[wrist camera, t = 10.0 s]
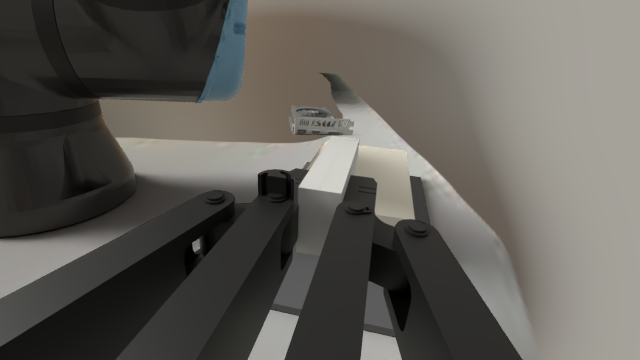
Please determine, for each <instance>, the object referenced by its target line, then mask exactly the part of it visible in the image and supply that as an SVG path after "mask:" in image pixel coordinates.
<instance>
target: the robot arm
mask: <svg viewBox="0 0 640 360" xmlns="http://www.w3.org/2000/svg"><path fill="white" fill-rule="evenodd" d="M247 2H248V0H0V237H3V236H16V235H25V234H32V233H38V232H43V231H48V230H53V229H57V228H61V227H65V226H68V225H72V224H75V223H78V222H81V221H84V220H87V219H90V218H92V217H95V216H97V215H100V214H102V213H104V212H106V211H108V210H110V209H112V208H114V207H116V206H117V205H119V204H121V203H122V202H123V201H125V200H126V199H127V198H128V197H129V196H130V195H131V194H132V193H133V192H134V190H135V188H136V179H135V174H134V169H133V166H132V164H131V162H130V161H129V159H128V157H127V156H126V154H125V153H124V151H123V150H122V148H121V147H120V145H119V143H118V142H117V140H116V139H115V137H114V136H113V134H112V133H111V131H110V130H109V128H108V127H107V125H106V123H105V121H104V119H103V116H102V113H101V108H100V104H99V100H98V99H120V100H147V101H148V100H150V101H175V102H195V103H202V102H203V101H226V100H229V99H231V98H233V97H235V96H236V95H237V94H238V92H239V91H240V88H241V84H242V77H243V67H244V53H245V30H246V18H247ZM359 140H360V139H355V138H346V137H338V136H331V138H330V139H329V141H328V142H327V144H326V145H325V147H324V148H323V150H322V151H321V153H320V155H319V156H318V158H317V159H316V161H315V162H314V164H313V165H312V167H311V168H310V170H304V169H297V168H296V169H294V170H292V171H285V170H277V169H273V170H266V171H263V172H261V173H259V174H258V196H257V197H256V199H255V200H254V201H253V202H252V203H236V204H235V197H234V196H233V194H231V193H229V192H226V191H222V190H218V191H217V190H214V191H211V192H206V193H203V194H201V195H199V196H197V197H195V198H193V199H191V200H189V201H187V202H185V203H183V204H181V205H180V206H178V207H176V208H174V209H172V210H170V211H168V212H166V213H164V214H162V215H160V216H158V217H157V218H155V219H153V220H151V221H149V222H147V223H145V224H143V225H141V226H139V227H137V228H135V229H133V230H132V231H130V232H128V233H126V234H124V235H122V236H120V237H118V238H116V239H114V240H112V241H110V242H109V243H107V244H105V245H103V246H101V247H99V248H97V249H95V250H93V251H91V252H89V253H87V254H86V255H84V256H82V257H80V258H78V259H76V260H74V261H72V262H70V263H68V264H66V265H64V266H62V267H61V268H59V269H57V270H55V271H53V272H51V273H49V274H47V275H45V276H43V277H41V278H39V279H38V280H36V281H34V282H32V283H30V284H28V285H26V286H24V287H22V288H20V289H18V290H16V291H15V292H13V293H11V294H9V295H7V296H5V297H3V298H1V299H0V360H247V359H248V357H249V355H250V353H251V350H252V348H253V346H254V344H255V342H256V339H257V337H258V335H259V333H260V331H261V328H262V326H263V324H264V322H265V320H266V317H267V315H268V313H269V311H270V308H271V306H272V304H273V302H274V300H275V297H276V295H277V293H278V291H279V289H280V286H281V284H282V282H283V280H284V278H285V275H286V273H287V271H288V269H289V266H290V264H291V262H292V259H293V247H294V245H295V243H296V241H297V245H296V252H300V253H305V254H311V255H316V256H320V257H319V260H318V263H317V266H316V269H315V272H314V275H313V278H312V281H311V284H310V286H309V289H308V292H307V295H306V298H305V301H304V304H303V307H302V310H301V313H300V316H299V319H298V322H297V325H296V328H295V330H294V333H293V336H292V339H291V342H290V345H289V348H288V351H287V354H286V357H285V360H360V357H361V347H362V338H363V328H364V318H365V308H366V298H367V288H368V281H370V282H372V283H375V284H377V285H379V286H381V287H383V294H384V298H385V301H386V305H387V308H388V312H389V315H390V319H391V322H392V326H393V329H394V333H395V336H396V340H397V344H398V347H399V351H400V354H401V358H402V360H522V358H521V357H520V355H519V354H518V352H517V351H516V349H515V348H514V346H513V345H512V343H511V342H510V340H509V339H508V337H507V336H506V334H505V333H504V331H503V330H502V328H501V327H500V325H499V323H498V322H497V320H496V319H495V317H494V316H493V314H492V313H491V311H490V310H489V308H488V307H487V305H486V304H485V302H484V301H483V299H482V298H481V296H480V295H479V293H478V292H477V290H476V289H475V287H474V286H473V284H472V283H471V281H470V279H469V278H468V276H467V275H466V273H465V272H464V270H463V269H462V267H461V266H460V264H459V263H458V261H457V260H456V258H455V257H454V255H453V254H452V252H451V251H450V249H449V248H448V246H447V245H446V243H445V242H444V240H443V239H442V237H441V235H440V234H439V232H438V231H437V230H436V229H435V228H434V227H433V226H431V225H430V224H428V223H426V222H424V221H421V220H414V219H404V220H401V221H399V222H397V224H396V225H395V227H394V226H391V225H389V224H386V223H384V222H383V221H381V220H380V219H379V218H378V217H377V216H376V215H375V202H376V192H377V182H376V181H375V180H374V178H370V177H362V176H355V175H356V166H357V158H358V149H359ZM198 238H199V240H200V249H199V250H198V251H196V252H194V251H193V247H192V242H194V241H195V240H197V239H198Z"/></svg>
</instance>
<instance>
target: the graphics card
mask: <svg viewBox="0 0 640 360" xmlns="http://www.w3.org/2000/svg"><path fill="white" fill-rule="evenodd" d="M291 115H292V117H288V118H289V122H290V126H291V131H292V133H293V134H294V136H295V135H317V136H318V135H319V136H329V135H339V134H349V135H350V134H352V133H353V130H349V127H350V126H353V125H354V122H351V121H350V120H349V119H336V118H335V117H334V116H333V115H332V113H331V112H330V111H329V110H328V109H327V108H326V107H323V108H318V107H311V106H304V107H297V106H295V105H292V109H291ZM339 121H340V124H341V121H342V124H343V121H344V123H345V121H346V123H347V121H348V123H347V126H346V123H345V126H346V127H345V126H344V124H343V127H342V124H341V127H340V125H339ZM338 125H339V127H338Z"/></svg>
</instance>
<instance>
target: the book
mask: <svg viewBox="0 0 640 360" xmlns="http://www.w3.org/2000/svg"><path fill="white" fill-rule="evenodd" d="M327 142H328V141H326V142H324V144H323V145H322V147H321V148H320V149H319V151H318V152H317V154H316V155H315V157H314V158H313V160H312V161H311V163H310V164H309V165H308V167H307V168H306V170H310V168H311V167H312V165H313V164H314V162H315V161H316V159H317V158H318V156H319V155H320V153H321V151H322V150H323V148H324V147H325V145H326V144H327ZM355 176H362V177H370V178H374V180H375V181H376V182H377V192H376V202H375V215H376V216H377V217H378V218H379V219H380V220H381V221H383V222H384V223H386V224H389V225H391V226H394V227H395V225H396V224H397V222H399V221H401V220H404V219H414V220H415V216H414V208H413V200H412V192H411V184H410V176H409V168H408V159H407V151H403V150H395V149H387V148H378V147H370V146H362V145H359V149H358V158H357V166H356V175H355Z"/></svg>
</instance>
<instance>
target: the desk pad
mask: <svg viewBox="0 0 640 360" xmlns="http://www.w3.org/2000/svg"><path fill="white" fill-rule="evenodd" d="M310 163H311V162H307V163H306V165H305V166H304V167H303V169H304V170H306V168H307V167H308V165H309V164H310ZM410 184H411V192H412V200H413V208H414V216H415V220H421V221H424V222H426V223H428V224H430V222H429V217H428V212H427V207H426V202H425V197H424V192H423V187H422V182H421V177H415V176H410ZM296 245H297V241H296V243H295V245H294V247H293V259H292V262H291V264H290V266H289V269H288V271H287V273H286V275H285V278H284V280H283V282H282V284H281V286H280V289H279V291H278V293H277V295H276V297H275V300H274V302H273V304H272V306H271V308H270V309H272V310H277V311H281V312H286V313H290V314H295V315H299V316H300V313H301V310H302V307H303V304H304V301H305V298H306V295H307V292H308V289H309V286H310V284H311V281H312V278H313V275H314V272H315V269H316V266H317V263H318V260H319V257H320V256H316V255H311V254H305V253H300V252H296ZM363 330H367V331H371V332H376V333H380V334H385V335H389V336H394V337H396V336H395V333H394V329H393V326H392V322H391V319H390V315H389V312H388V308H387V305H386V301H385V298H384V294H383V287H381V286H379V285H377V284H375V283H372V282H370V281H368V288H367V298H366V308H365V318H364V328H363Z"/></svg>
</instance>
